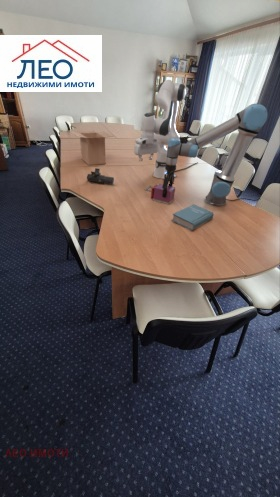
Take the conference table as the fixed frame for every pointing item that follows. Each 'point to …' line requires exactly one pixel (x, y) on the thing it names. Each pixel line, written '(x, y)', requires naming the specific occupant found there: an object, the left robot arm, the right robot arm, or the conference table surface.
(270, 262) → the conference table surface
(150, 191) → the drawer
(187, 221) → the book
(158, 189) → the cabinet
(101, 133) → the box
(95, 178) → the laser sight
